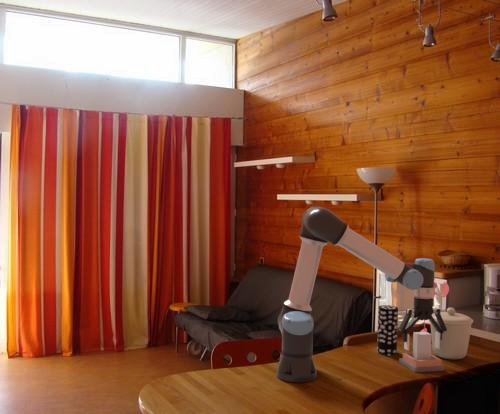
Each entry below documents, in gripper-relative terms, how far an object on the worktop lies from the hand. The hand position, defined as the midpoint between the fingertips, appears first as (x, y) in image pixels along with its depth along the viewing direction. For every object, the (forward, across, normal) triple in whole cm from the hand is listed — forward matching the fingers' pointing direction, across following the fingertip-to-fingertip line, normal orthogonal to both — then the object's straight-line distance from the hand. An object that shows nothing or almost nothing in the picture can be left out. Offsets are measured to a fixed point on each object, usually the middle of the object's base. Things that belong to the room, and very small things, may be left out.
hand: (421, 348), depth 231 cm
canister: (+7, +19, +10) cm, 23 cm away
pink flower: (+7, +17, +28) cm, 34 cm away
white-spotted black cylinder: (+7, -6, +19) cm, 21 cm away
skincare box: (+6, 0, 0) cm, 6 cm away
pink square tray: (+7, 0, 0) cm, 7 cm away
